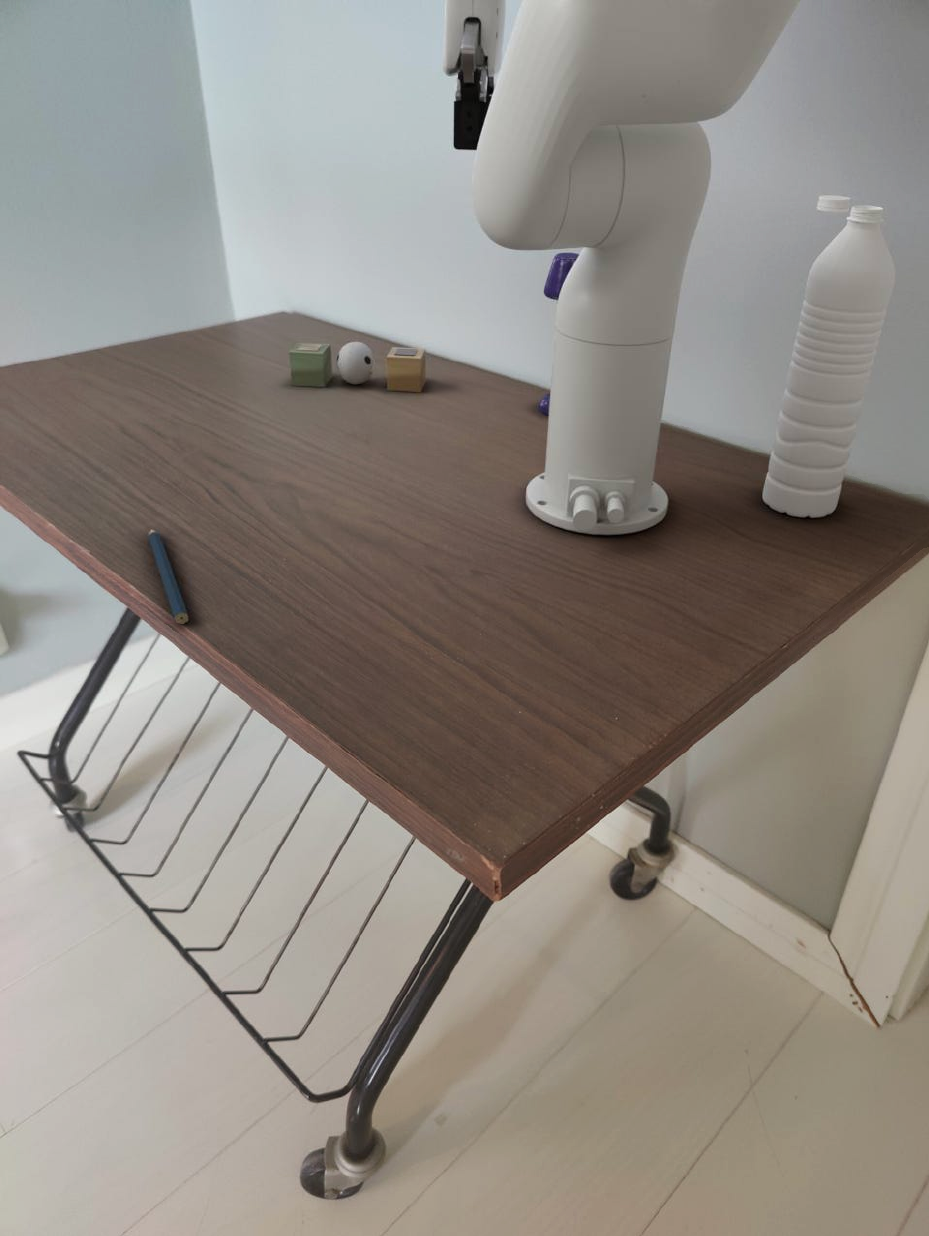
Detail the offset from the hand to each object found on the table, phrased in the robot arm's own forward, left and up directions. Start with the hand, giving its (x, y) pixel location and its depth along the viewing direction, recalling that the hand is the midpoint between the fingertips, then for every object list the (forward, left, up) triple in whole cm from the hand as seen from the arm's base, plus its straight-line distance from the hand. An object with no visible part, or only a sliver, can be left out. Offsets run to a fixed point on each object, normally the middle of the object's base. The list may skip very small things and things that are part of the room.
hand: (475, 144), depth 91 cm
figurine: (+4, +14, -26) cm, 30 cm away
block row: (+4, +14, -26) cm, 30 cm away
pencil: (-50, +15, -26) cm, 58 cm away
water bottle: (-22, -32, -26) cm, 47 cm away
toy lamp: (-2, -10, -26) cm, 28 cm away
